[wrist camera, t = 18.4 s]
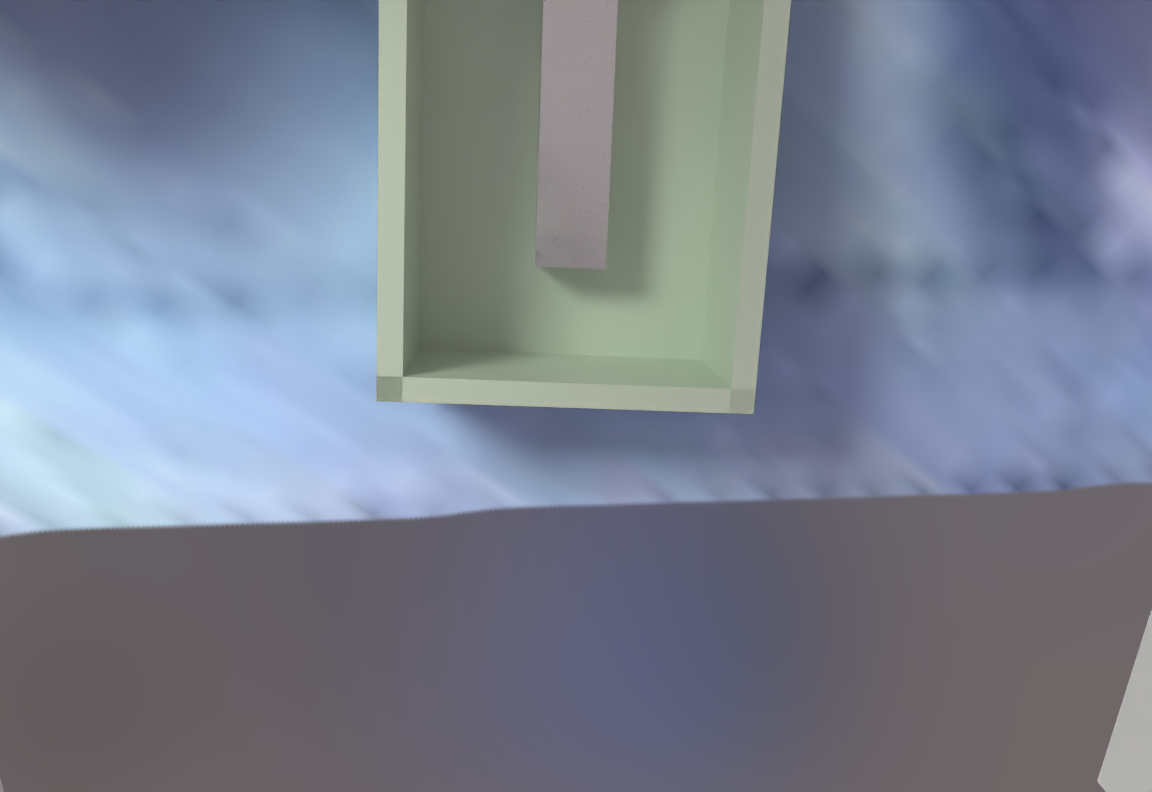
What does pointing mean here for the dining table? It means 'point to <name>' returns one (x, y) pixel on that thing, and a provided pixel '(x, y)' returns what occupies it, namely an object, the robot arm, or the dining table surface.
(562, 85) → the strut
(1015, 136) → the dining table surface
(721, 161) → the bin
